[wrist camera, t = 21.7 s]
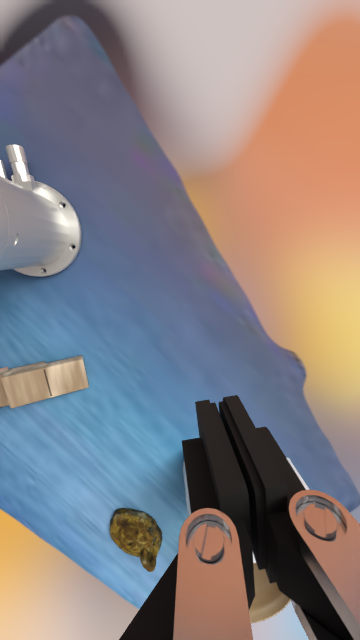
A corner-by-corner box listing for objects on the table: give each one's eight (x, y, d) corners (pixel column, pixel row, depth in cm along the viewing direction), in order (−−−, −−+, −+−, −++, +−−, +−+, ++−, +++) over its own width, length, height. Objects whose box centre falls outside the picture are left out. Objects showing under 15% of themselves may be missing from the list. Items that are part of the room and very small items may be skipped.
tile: (52, 388, 42) (-27, 408, 38) (44, 361, 41) (-38, 379, 37) (51, 393, 41) (-32, 415, 37) (43, 365, 39) (-43, 385, 35)
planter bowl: (199, 500, 51) (210, 564, 41) (275, 499, 53) (304, 560, 42) (191, 557, 55) (199, 629, 45) (262, 555, 57) (285, 623, 47)
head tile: (88, 382, 42) (13, 402, 39) (82, 355, 41) (4, 372, 37) (88, 387, 41) (10, 408, 37) (82, 359, 39) (0, 378, 36)
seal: (98, 513, 52) (139, 555, 55) (89, 539, 47) (135, 583, 51) (135, 496, 50) (175, 541, 54) (130, 521, 46) (174, 568, 49)
